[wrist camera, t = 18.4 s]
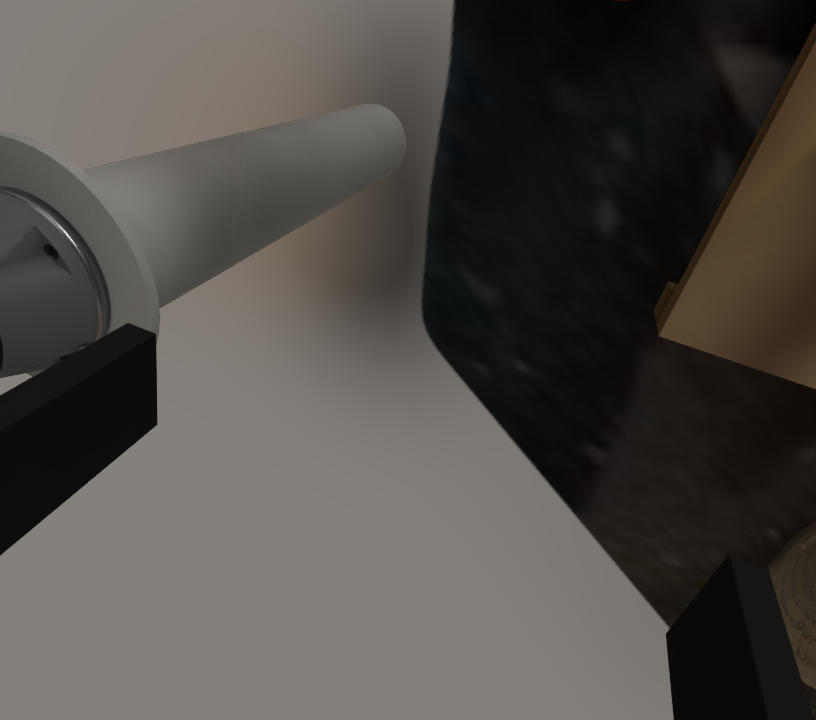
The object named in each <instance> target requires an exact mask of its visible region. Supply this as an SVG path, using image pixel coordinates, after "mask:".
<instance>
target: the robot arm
mask: <svg viewBox="0 0 816 720" xmlns="http://www.w3.org/2000/svg"><path fill="white" fill-rule="evenodd" d="M110 319H111V304H110V297H109V292H108V288H107V284H106V281H105V278H104V275H103V273H102V270H101V268H100V266H99V264H98V262H97V260H96V258H95V256H94V254H93V253H92V251H91V249H90V248H89V246H88V245H87V243H86V242H85V241H84V239H83V238H82V236H81V235H80V234H79V233H78V231H77V230H76V229H75V228H74V227H73V226H72V225H71V224H70V222H69V221H68V220H67V219H65V218H64V217H63V216H62V215H61V214H60V213H59V212H58V211H57V210H55V209H54V208H53V207H51V206H50V205H49V204H47V203H46V202H44V201H43V200H41V199H40V198H38V197H36V196H34V195H32V194H30V193H28V192H25V191H23V190H20V189H17V188H13V187H7V186H0V378H3V377H8V376H13V375H19V374H23V373H29V372H34V371H39V370H44V369H46V370H44V371H42V372H40V373H39V374H37V375H35V376H33V377H32V378H30V379H28V380H26V381H25V382H23V383H21V384H19V385H18V386H16V387H14V388H13V389H11V390H9V391H7V392H6V393H4V394H2V395H0V555H1V554H2V553H4V552H5V551H6V550H7V549H8V548H10V547H11V546H12V545H13V544H15V543H16V542H17V541H18V540H19V539H21V538H22V537H23V536H24V535H25V534H26V533H28V532H29V531H30V530H31V529H32V528H34V527H35V526H36V525H37V524H38V523H40V522H41V521H42V520H43V519H44V518H46V517H47V516H48V515H49V514H50V513H52V512H53V511H54V510H55V509H57V508H58V507H59V506H60V505H61V504H62V503H64V502H65V501H66V500H67V499H69V498H70V497H71V496H72V495H73V494H74V493H76V492H77V491H78V490H79V489H81V488H82V487H83V486H84V485H85V484H87V483H88V482H89V481H90V480H91V479H93V478H94V477H95V476H96V475H97V474H98V473H100V472H101V471H102V470H103V469H104V468H106V467H107V466H108V465H109V464H111V463H112V462H113V461H114V460H115V459H117V458H118V457H119V456H120V455H121V454H123V453H124V452H125V451H126V450H127V449H128V448H130V447H131V446H132V445H133V444H135V443H136V442H137V441H138V440H139V439H141V438H142V437H143V436H144V435H145V434H147V433H148V432H149V431H150V430H151V429H153V428H154V427H155V426H156V425H157V366H156V333H153V332H150V331H148V330H145V329H143V328H140V327H137V326H135V325H132V324H130V323H126V324H125V325H123V326H121V327H119V328H118V329H116V330H114V331H112V332H111V333H109V334H107V332H108V329H109V325H110ZM666 639H667V651H668V662H669V673H670V683H671V694H672V705H673V715H674V720H814V719H813V716H812V713H811V709H810V706H809V703H808V699H807V696H806V693H805V689H804V686H803V683H802V679H801V676H800V673H799V669H798V666H797V663H796V659H795V656H794V653H793V649H792V646H791V643H790V639H789V636H788V633H787V629H786V626H785V623H784V619H783V616H782V613H781V609H780V606H779V603H778V599H777V596H776V593H775V589H774V586H773V583H772V579H771V576H770V573H769V570H768V569H766V568H763V567H760V566H758V565H755V564H753V563H750V562H747V561H745V560H742V559H740V558H737V557H734V556H732V555H728V557H727V558H726V559H725V560H724V562H723V563H722V564H721V565H720V567H719V568H718V569H717V570H716V572H715V573H714V574H713V575H712V577H711V578H710V579H709V580H708V582H707V583H706V584H705V585H704V587H703V588H702V589H701V590H700V592H699V593H698V594H697V595H696V597H695V598H694V599H693V600H692V602H691V603H690V604H689V605H688V607H687V608H686V609H685V611H684V612H683V613H682V614H681V616H680V617H679V618H678V619H677V621H676V622H675V623H674V624H673V626H672V627H671V628H670V629H669V631H668V632H667V633H666Z"/></svg>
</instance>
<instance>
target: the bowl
mask: <svg viewBox="0 0 816 720" xmlns="http://www.w3.org/2000/svg"><path fill="white" fill-rule="evenodd" d="M767 569H768V570H769V573H770V576H771V579H772V583H773V586H774V589H775V593H776V596H777V599H778V603H779V606H780V609H781V613H782V616H783V619H784V623H785V626H786V629H787V633H788V636H789V639H790V643H791V646H792V649H793V653H794V656H795V659H796V663H797V666H798V669H799V673H800V676H801V679H802V682H804V683H805V684H807V685H808V686H810V687H812V688H813V689H815V690H816V521H814V522H812V523H811V524H809V525H808V526H806V527H805V528H803V529H802V530H801V531H799V532H798V533H796V534H795V535H794V536H793V537H792V538H791V539H790V540H789V541H788V542H787V543H786V544H785V545H784V546H783V547H782V549H781V550H780V551H779V552H778V553H777V554H776V556H775V557H774V559H773V560H772V562H771V563H770V564H769V566H768V567H767Z"/></svg>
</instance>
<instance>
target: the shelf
mask: <svg viewBox="0 0 816 720" xmlns="http://www.w3.org/2000/svg"><path fill="white" fill-rule="evenodd" d="M654 312H655V318H656V324H657V330H658V336H660V337H663V338H666V339H669V340H672V341H675V342H678V343H681V344H684V345H687V346H689V347H692V348H695V349H698V350H701V351H704V352H707V353H710V354H713V355H716V356H719V357H722V358H725V359H728V360H731V361H734V362H737V363H740V364H743V365H746V366H749V367H752V368H755V369H758V370H761V371H764V372H766V373H769V374H772V375H775V376H778V377H781V378H784V379H787V380H790V381H793V382H796V383H799V384H802V385H805V386H808V387H811V388H814V389H816V23H815V25H814V27H813V29H812V31H811V33H810V34H809V36H808V38H807V40H806V42H805V44H804V46H803V48H802V50H801V52H800V54H799V55H798V57H797V59H796V61H795V63H794V65H793V67H792V69H791V71H790V73H789V74H788V76H787V78H786V80H785V82H784V84H783V86H782V88H781V90H780V92H779V94H778V95H777V97H776V99H775V101H774V103H773V105H772V107H771V109H770V111H769V113H768V114H767V116H766V118H765V120H764V122H763V124H762V126H761V128H760V130H759V132H758V134H757V135H756V137H755V139H754V141H753V143H752V145H751V147H750V149H749V151H748V153H747V154H746V156H745V158H744V160H743V162H742V164H741V166H740V168H739V170H738V172H737V174H736V175H735V177H734V179H733V181H732V183H731V185H730V187H729V189H728V191H727V193H726V194H725V196H724V198H723V200H722V202H721V204H720V206H719V208H718V210H717V212H716V213H715V215H714V217H713V219H712V221H711V223H710V225H709V227H708V229H707V231H706V233H705V234H704V236H703V238H702V240H701V242H700V244H699V246H698V248H697V250H696V252H695V253H694V255H693V257H692V259H691V261H690V263H689V265H688V267H687V269H686V271H685V273H684V274H683V276H682V278H681V280H680V282H679V284H676V283H672V282H668V283H667V285H666V287H665V289H664V291H663V293H662V295H661V297H660V299H659V300H658V302H657V304H656V306H655V308H654Z"/></svg>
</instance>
